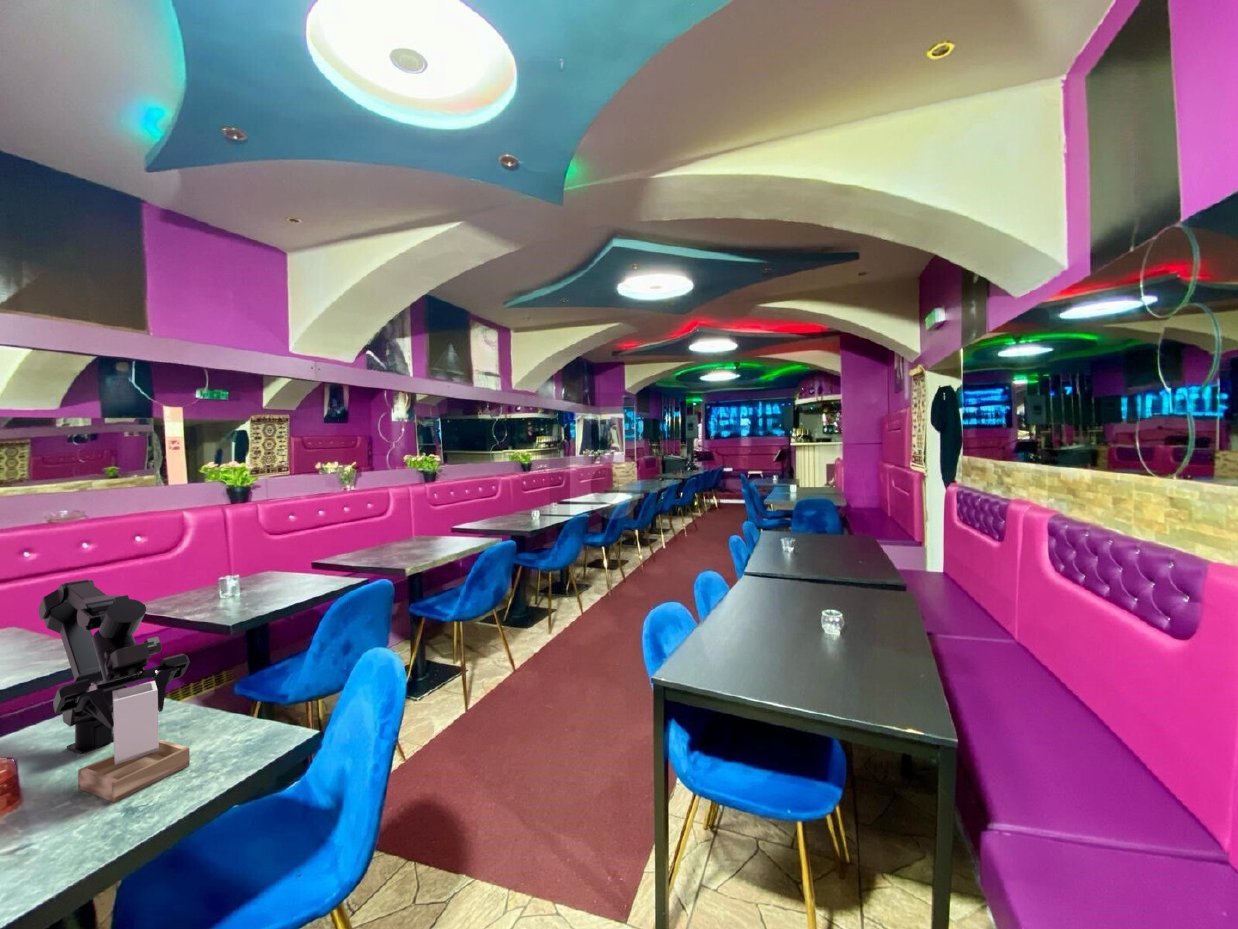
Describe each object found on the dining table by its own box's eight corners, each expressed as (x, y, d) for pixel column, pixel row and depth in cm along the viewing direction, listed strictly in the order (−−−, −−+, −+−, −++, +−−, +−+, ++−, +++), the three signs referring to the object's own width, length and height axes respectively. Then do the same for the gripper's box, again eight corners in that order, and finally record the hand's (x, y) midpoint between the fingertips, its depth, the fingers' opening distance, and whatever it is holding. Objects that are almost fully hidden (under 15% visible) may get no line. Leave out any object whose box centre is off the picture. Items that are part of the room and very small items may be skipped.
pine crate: (78, 788, 92) (78, 769, 92) (154, 754, 103) (154, 737, 103) (114, 802, 88) (114, 783, 88) (189, 765, 99) (189, 748, 99)
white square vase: (113, 752, 95) (112, 691, 95) (156, 739, 100) (154, 680, 100) (114, 765, 91) (113, 701, 91) (158, 750, 96) (157, 690, 95)
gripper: (57, 643, 90) (76, 718, 84) (186, 615, 106) (209, 677, 100) (45, 676, 93) (62, 751, 88) (171, 645, 110) (192, 706, 104)
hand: (137, 718), depth 95 cm, fingers closed on white square vase, 7 cm apart
